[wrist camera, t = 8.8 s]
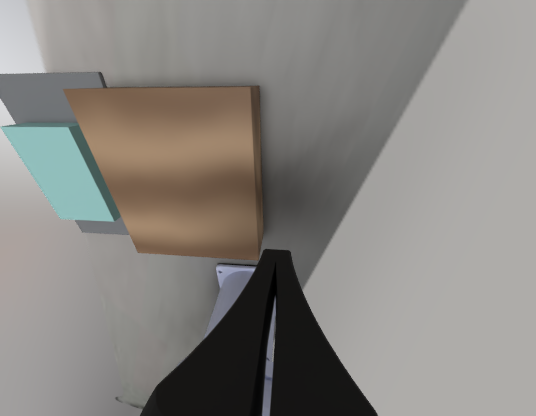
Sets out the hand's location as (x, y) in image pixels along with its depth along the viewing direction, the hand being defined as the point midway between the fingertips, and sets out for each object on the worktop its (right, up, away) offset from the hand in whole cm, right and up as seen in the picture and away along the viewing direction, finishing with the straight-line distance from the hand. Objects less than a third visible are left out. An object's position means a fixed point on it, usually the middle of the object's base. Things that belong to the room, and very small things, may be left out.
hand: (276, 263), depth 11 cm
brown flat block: (-7, +6, +9) cm, 13 cm away
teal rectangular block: (-19, +6, +8) cm, 21 cm away
